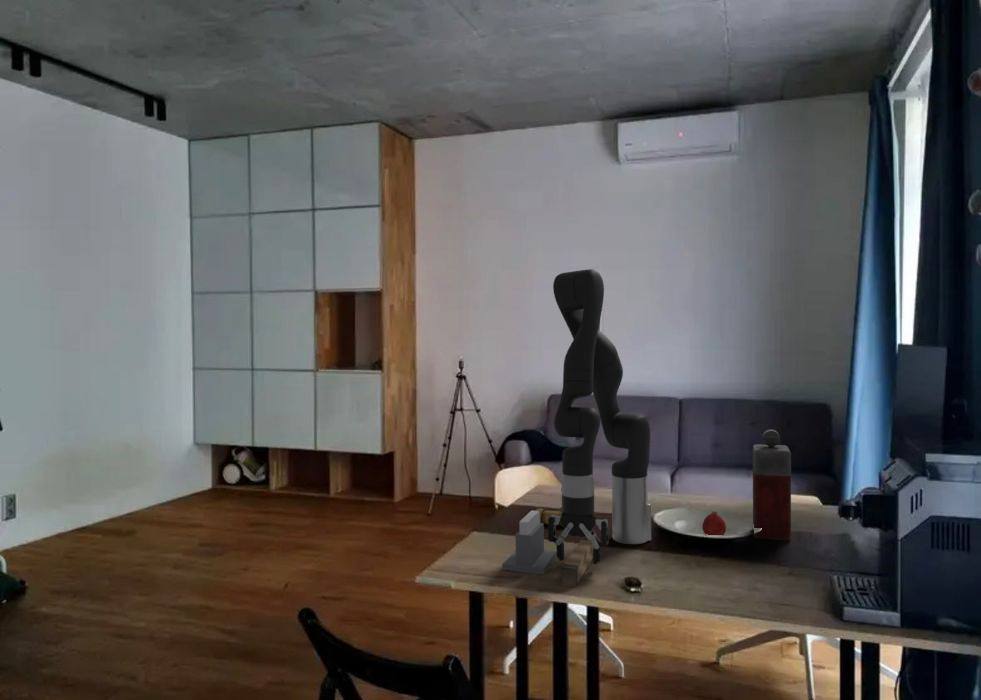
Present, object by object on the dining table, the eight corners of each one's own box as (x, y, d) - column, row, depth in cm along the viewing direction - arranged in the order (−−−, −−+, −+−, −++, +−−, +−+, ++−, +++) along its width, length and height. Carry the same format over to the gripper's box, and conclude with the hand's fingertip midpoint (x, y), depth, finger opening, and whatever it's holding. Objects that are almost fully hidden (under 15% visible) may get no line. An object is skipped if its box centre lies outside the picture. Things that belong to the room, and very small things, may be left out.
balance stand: (557, 557, 169) (556, 511, 168) (543, 574, 157) (543, 525, 157) (518, 553, 172) (517, 508, 171) (502, 570, 161) (501, 521, 160)
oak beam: (583, 553, 171) (582, 537, 171) (595, 554, 170) (595, 538, 170) (561, 585, 151) (561, 567, 150) (575, 587, 150) (575, 568, 149)
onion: (701, 543, 177) (701, 512, 177) (703, 536, 182) (703, 506, 182) (725, 545, 175) (725, 514, 175) (726, 538, 180) (726, 508, 180)
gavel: (555, 496, 215) (587, 499, 211) (555, 511, 215) (587, 514, 211) (534, 510, 195) (568, 513, 191) (534, 526, 195) (568, 529, 191)
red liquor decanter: (787, 528, 188) (787, 426, 187) (791, 540, 177) (791, 433, 176) (752, 525, 191) (752, 425, 190) (754, 537, 180) (753, 432, 179)
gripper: (611, 490, 161) (612, 559, 161) (552, 486, 166) (553, 553, 166) (605, 498, 154) (606, 570, 154) (543, 494, 159) (544, 563, 159)
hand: (578, 561), depth 160 cm, fingers open, 7 cm apart
